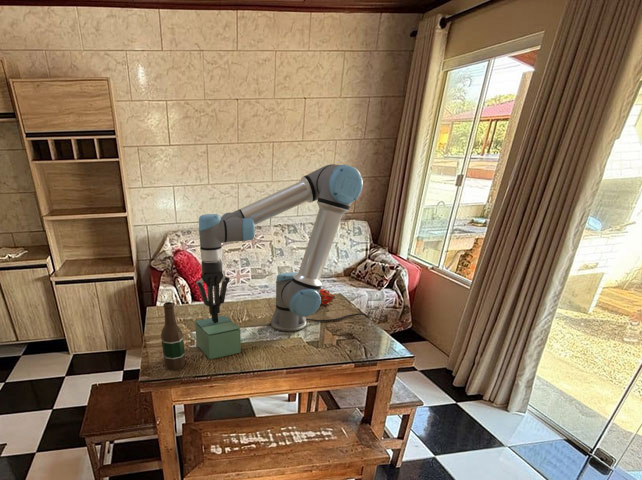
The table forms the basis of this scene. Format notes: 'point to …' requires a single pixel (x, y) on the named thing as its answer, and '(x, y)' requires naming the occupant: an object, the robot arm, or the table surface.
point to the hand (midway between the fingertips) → (215, 321)
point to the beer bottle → (172, 340)
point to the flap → (209, 321)
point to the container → (219, 339)
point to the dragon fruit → (326, 296)
